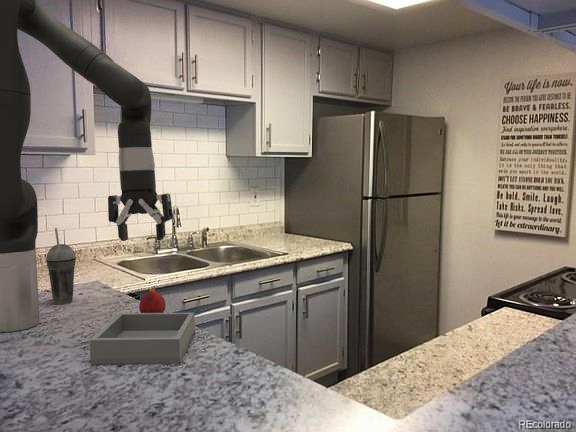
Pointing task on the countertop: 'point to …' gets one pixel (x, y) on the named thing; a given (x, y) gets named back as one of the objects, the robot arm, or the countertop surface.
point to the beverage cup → (61, 272)
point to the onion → (152, 302)
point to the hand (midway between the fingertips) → (142, 240)
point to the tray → (143, 338)
